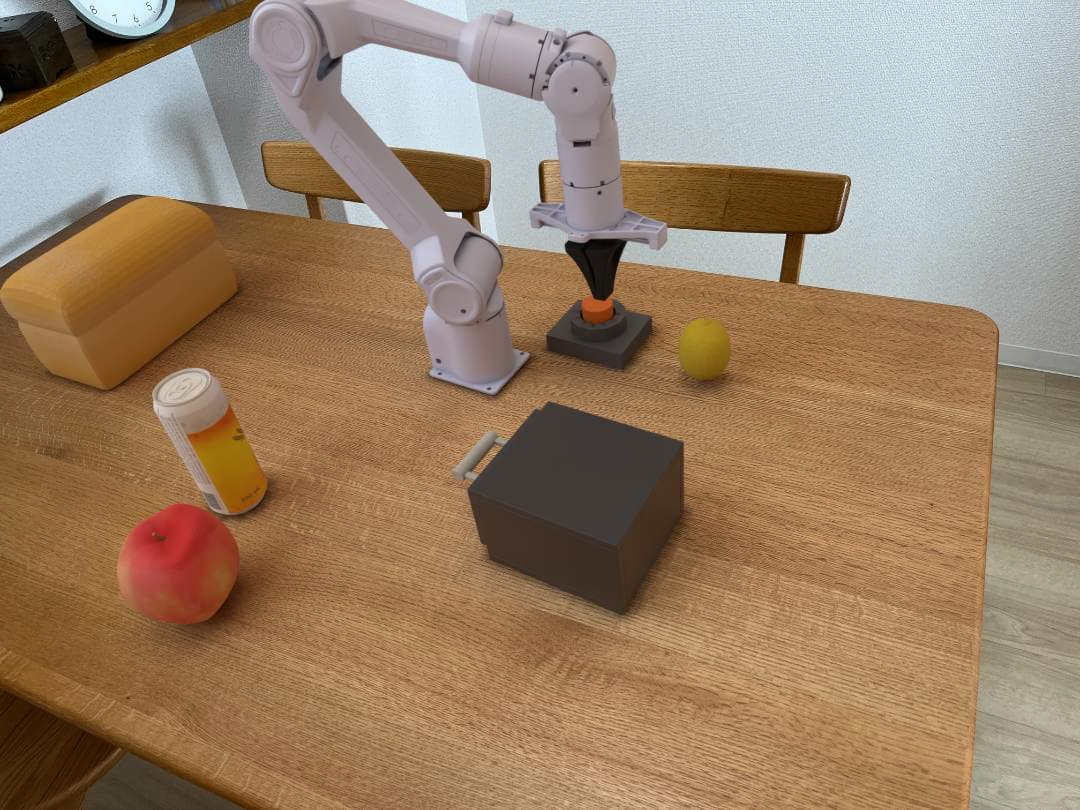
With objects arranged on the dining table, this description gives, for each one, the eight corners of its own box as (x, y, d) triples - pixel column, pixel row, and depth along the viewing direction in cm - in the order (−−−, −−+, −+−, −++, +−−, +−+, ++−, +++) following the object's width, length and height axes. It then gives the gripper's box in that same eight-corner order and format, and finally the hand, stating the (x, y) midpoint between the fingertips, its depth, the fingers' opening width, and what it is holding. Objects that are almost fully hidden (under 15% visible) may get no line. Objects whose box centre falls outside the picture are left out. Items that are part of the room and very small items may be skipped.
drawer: (444, 528, 76) (428, 474, 71) (509, 450, 83) (498, 396, 78) (601, 593, 68) (595, 538, 63) (658, 502, 75) (656, 445, 70)
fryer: (489, 559, 74) (472, 491, 68) (558, 468, 81) (548, 400, 75) (623, 615, 67) (617, 546, 61) (684, 512, 75) (684, 441, 69)
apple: (219, 544, 79) (177, 473, 72) (277, 590, 74) (237, 518, 67) (130, 613, 74) (77, 543, 67) (185, 668, 69) (133, 598, 62)
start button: (577, 320, 94) (575, 308, 93) (591, 304, 96) (590, 291, 95) (604, 327, 92) (603, 314, 91) (618, 310, 95) (617, 297, 93)
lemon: (728, 396, 86) (731, 336, 81) (676, 394, 88) (675, 334, 82) (730, 364, 90) (733, 304, 85) (680, 362, 92) (679, 304, 86)
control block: (547, 349, 96) (543, 322, 94) (579, 313, 101) (577, 286, 99) (622, 369, 92) (620, 341, 89) (652, 331, 97) (651, 303, 94)
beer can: (281, 480, 85) (228, 369, 75) (247, 524, 80) (187, 411, 71) (234, 471, 87) (176, 361, 77) (199, 513, 82) (133, 403, 73)
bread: (110, 393, 100) (48, 291, 91) (44, 373, 106) (-21, 275, 96) (244, 288, 116) (203, 192, 106) (181, 275, 121) (137, 182, 111)
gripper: (505, 183, 77) (526, 301, 86) (640, 204, 71) (648, 330, 79) (543, 152, 82) (559, 268, 90) (675, 169, 75) (679, 292, 83)
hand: (603, 295), depth 85 cm, fingers closed
